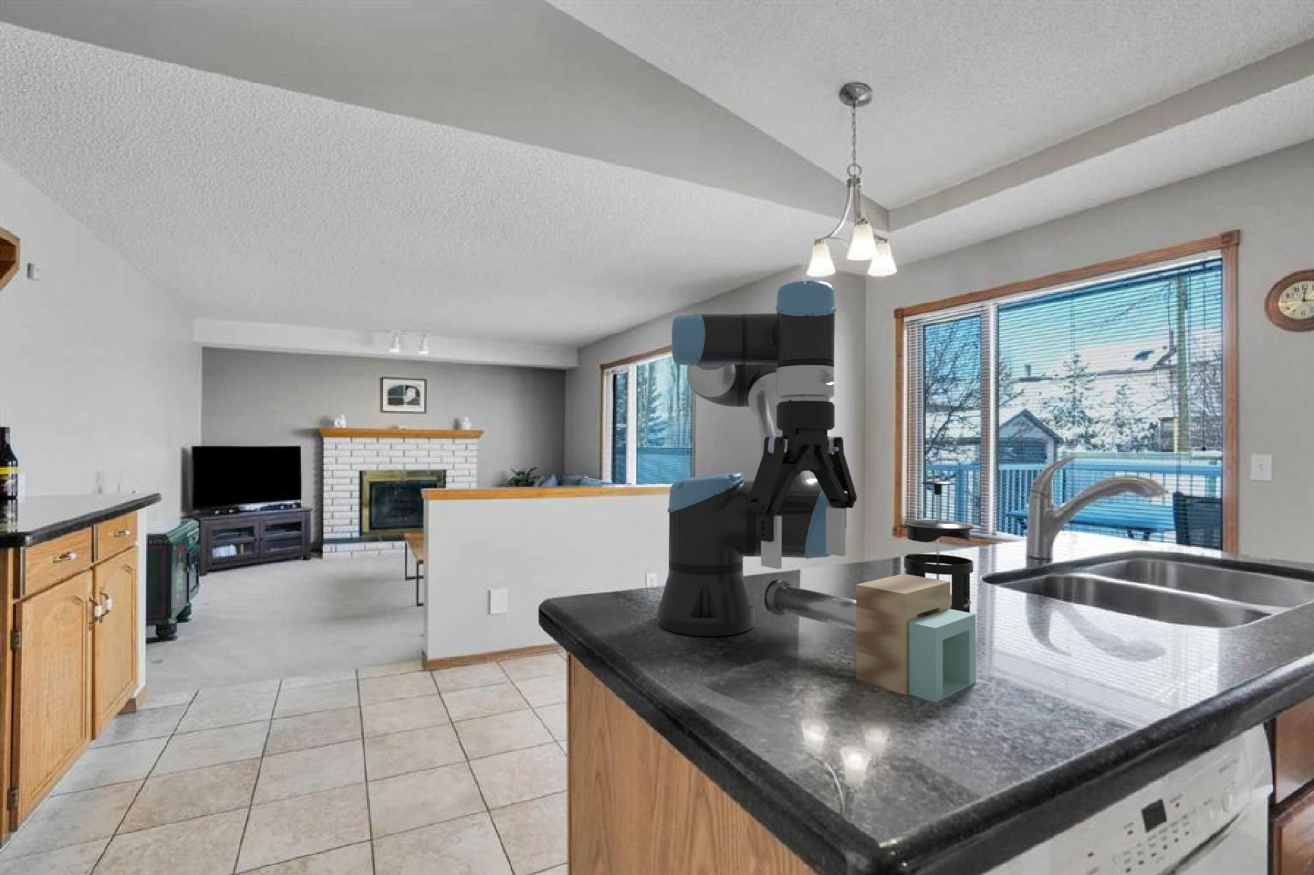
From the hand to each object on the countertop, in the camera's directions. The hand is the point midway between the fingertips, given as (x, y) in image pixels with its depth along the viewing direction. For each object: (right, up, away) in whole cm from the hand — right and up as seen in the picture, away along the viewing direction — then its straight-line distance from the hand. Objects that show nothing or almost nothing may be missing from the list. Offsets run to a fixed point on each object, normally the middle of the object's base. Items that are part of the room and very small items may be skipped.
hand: (804, 560), depth 86 cm
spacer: (+12, -12, -15) cm, 23 cm away
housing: (+9, -12, -11) cm, 19 cm away
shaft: (+3, -8, -5) cm, 10 cm away
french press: (+20, -13, +5) cm, 24 cm away
